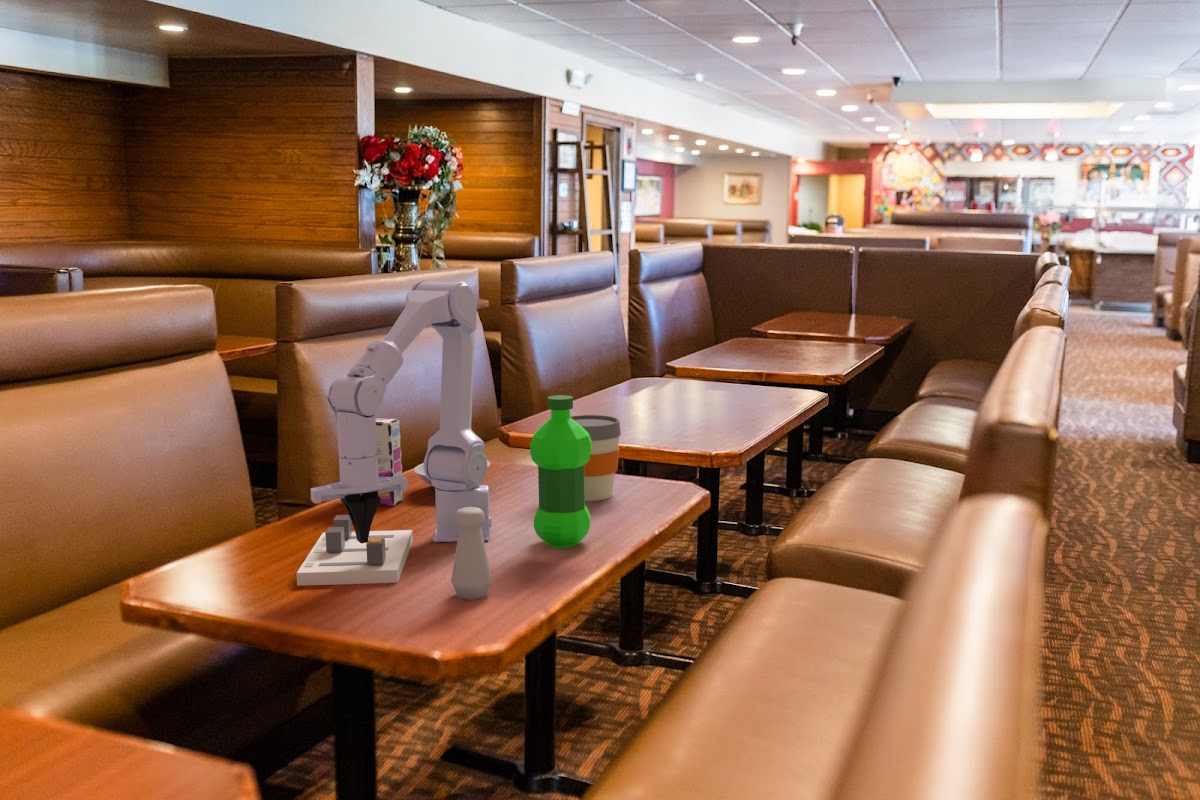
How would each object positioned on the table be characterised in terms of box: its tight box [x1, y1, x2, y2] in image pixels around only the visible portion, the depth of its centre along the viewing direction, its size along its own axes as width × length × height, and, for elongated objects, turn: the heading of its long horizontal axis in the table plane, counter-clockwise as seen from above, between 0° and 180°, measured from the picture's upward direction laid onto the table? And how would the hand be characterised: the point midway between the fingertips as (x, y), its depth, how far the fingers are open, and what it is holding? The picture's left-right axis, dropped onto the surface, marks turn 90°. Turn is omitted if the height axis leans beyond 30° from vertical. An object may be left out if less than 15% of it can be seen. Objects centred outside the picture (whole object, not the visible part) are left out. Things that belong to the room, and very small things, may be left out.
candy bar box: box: [376, 417, 404, 507], centre depth 207 cm, size 11×5×16 cm, turn 77°
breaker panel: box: [296, 529, 414, 586], centre depth 172 cm, size 15×21×2 cm
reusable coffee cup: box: [570, 414, 622, 502], centre depth 211 cm, size 13×13×15 cm
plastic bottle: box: [529, 394, 592, 549], centre depth 179 cm, size 10×10×25 cm
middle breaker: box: [325, 526, 345, 552], centre depth 172 cm, size 2×3×3 cm
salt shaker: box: [450, 507, 492, 601], centre depth 156 cm, size 6×6×13 cm
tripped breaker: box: [366, 537, 386, 565], centre depth 165 cm, size 2×3×4 cm
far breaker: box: [332, 514, 353, 539], centre depth 178 cm, size 2×3×3 cm
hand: (362, 541), depth 165 cm, fingers closed
